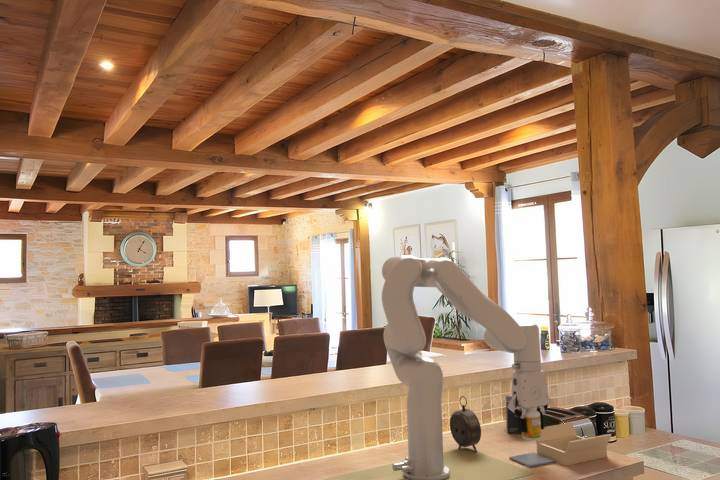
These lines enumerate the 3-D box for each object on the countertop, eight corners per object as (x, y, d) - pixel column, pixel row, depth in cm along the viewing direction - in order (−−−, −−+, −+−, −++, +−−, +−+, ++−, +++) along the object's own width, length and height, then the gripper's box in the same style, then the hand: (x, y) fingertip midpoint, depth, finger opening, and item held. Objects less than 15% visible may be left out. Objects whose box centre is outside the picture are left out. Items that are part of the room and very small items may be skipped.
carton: (571, 467, 162) (570, 441, 162) (532, 452, 177) (531, 428, 177) (613, 459, 168) (611, 434, 169) (571, 445, 183) (570, 422, 183)
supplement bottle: (518, 436, 171) (516, 402, 172) (534, 434, 173) (532, 400, 173) (529, 441, 166) (527, 406, 167) (545, 439, 168) (543, 404, 168)
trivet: (530, 467, 163) (529, 465, 163) (509, 459, 171) (509, 457, 171) (555, 462, 167) (555, 460, 167) (533, 454, 175) (533, 452, 175)
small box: (527, 434, 197) (526, 402, 198) (507, 433, 198) (506, 402, 199) (525, 426, 207) (523, 396, 208) (506, 425, 209) (504, 395, 209)
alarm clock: (483, 452, 178) (480, 398, 179) (468, 455, 176) (466, 400, 177) (461, 443, 188) (459, 392, 189) (447, 446, 186) (445, 394, 187)
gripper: (512, 371, 164) (515, 437, 163) (559, 365, 171) (563, 428, 170) (495, 367, 171) (498, 431, 169) (541, 361, 178) (545, 423, 177)
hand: (531, 429), depth 170 cm, fingers closed on supplement bottle, 5 cm apart
